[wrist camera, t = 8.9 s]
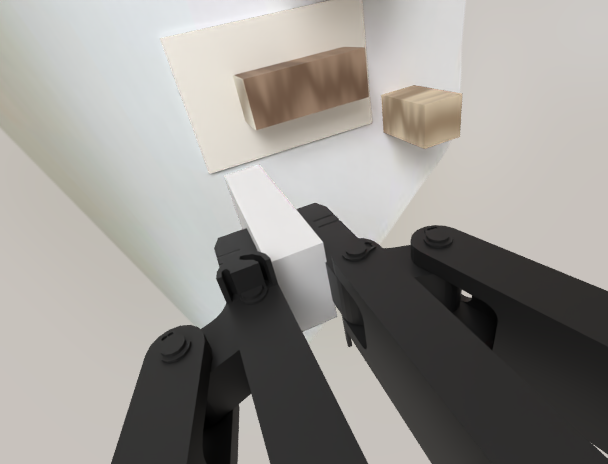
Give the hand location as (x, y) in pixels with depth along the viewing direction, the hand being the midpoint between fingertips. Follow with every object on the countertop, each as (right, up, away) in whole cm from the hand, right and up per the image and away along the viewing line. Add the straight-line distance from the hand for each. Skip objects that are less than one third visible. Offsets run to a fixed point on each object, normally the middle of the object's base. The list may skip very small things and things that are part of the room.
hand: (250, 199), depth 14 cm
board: (0, +14, +22) cm, 26 cm away
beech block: (+14, +14, +28) cm, 34 cm away
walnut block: (-4, +11, +18) cm, 22 cm away
